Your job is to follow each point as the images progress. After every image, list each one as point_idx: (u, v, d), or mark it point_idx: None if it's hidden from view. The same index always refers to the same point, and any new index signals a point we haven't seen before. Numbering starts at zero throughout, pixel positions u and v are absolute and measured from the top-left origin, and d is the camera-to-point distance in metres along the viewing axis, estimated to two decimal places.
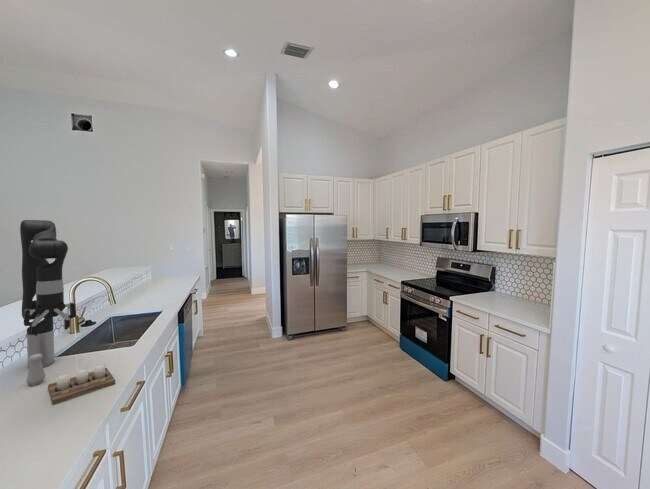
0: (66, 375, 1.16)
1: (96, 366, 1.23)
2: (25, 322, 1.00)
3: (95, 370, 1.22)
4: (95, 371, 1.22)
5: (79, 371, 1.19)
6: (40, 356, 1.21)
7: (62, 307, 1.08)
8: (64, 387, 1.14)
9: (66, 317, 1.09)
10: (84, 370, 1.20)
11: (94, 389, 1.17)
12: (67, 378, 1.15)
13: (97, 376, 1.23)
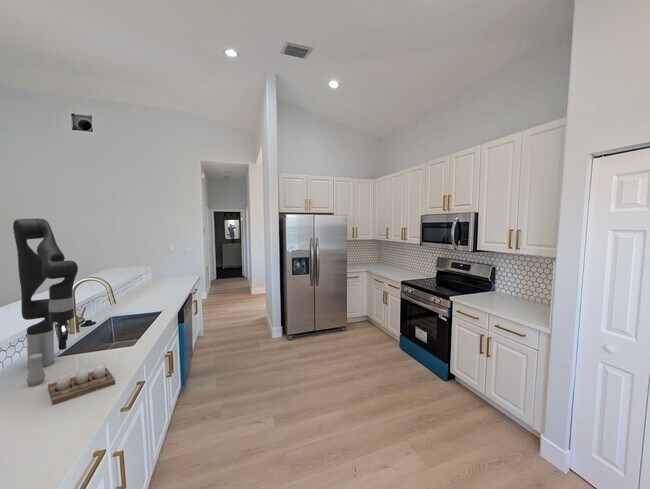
0: (66, 375, 1.16)
1: (96, 366, 1.23)
2: (67, 337, 1.13)
3: (95, 370, 1.22)
4: (95, 371, 1.22)
5: (79, 371, 1.19)
6: (40, 356, 1.21)
7: None
8: (64, 387, 1.14)
9: None
10: (84, 370, 1.20)
11: (94, 389, 1.17)
12: (67, 378, 1.15)
13: (97, 376, 1.23)
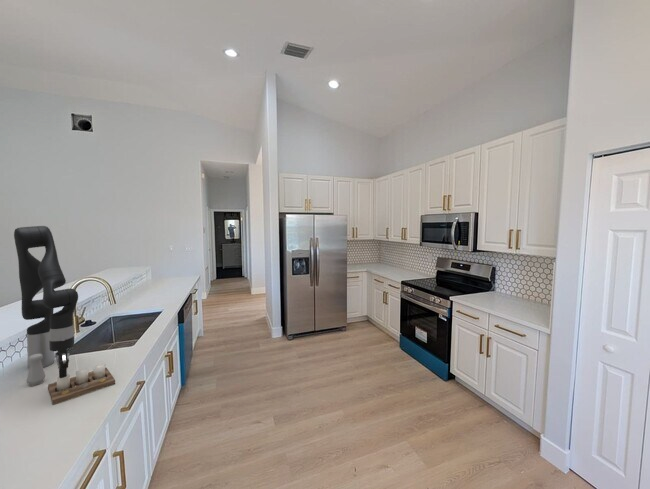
0: (66, 376, 1.16)
1: (96, 366, 1.23)
2: (67, 366, 1.13)
3: (95, 370, 1.22)
4: (95, 371, 1.22)
5: (79, 371, 1.19)
6: (40, 356, 1.21)
7: None
8: (64, 388, 1.14)
9: None
10: (84, 370, 1.20)
11: (94, 389, 1.17)
12: (67, 379, 1.15)
13: (97, 376, 1.23)
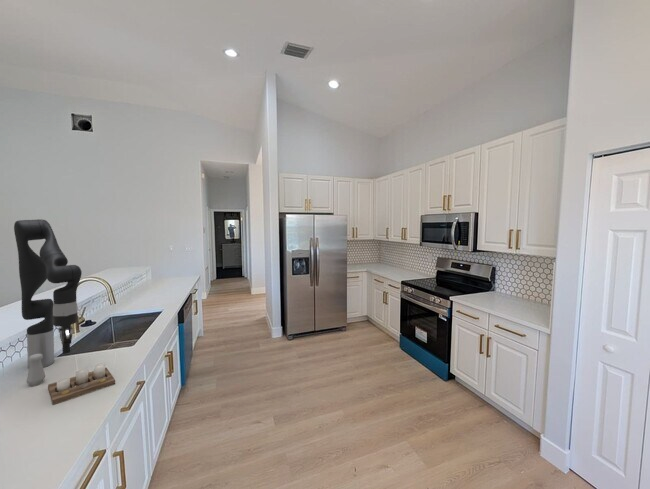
0: (66, 379, 1.16)
1: (96, 366, 1.23)
2: None
3: (95, 370, 1.22)
4: (95, 371, 1.22)
5: (79, 371, 1.19)
6: (40, 356, 1.21)
7: None
8: None
9: None
10: (84, 370, 1.20)
11: (94, 389, 1.17)
12: (67, 382, 1.15)
13: (97, 376, 1.23)
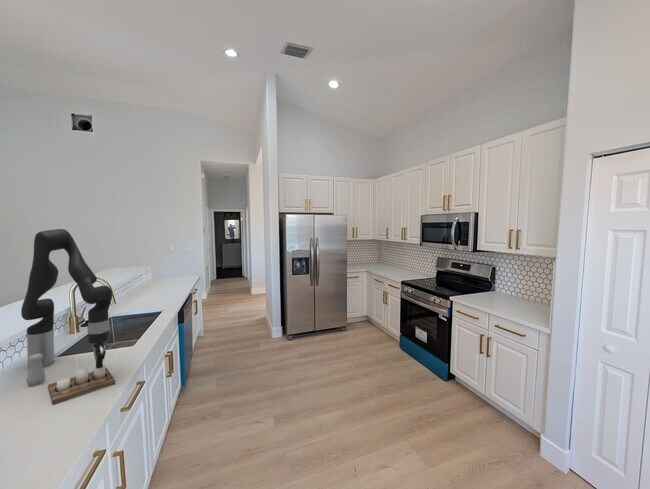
0: (66, 379, 1.16)
1: (96, 368, 1.24)
2: None
3: (95, 371, 1.22)
4: (95, 373, 1.22)
5: (79, 371, 1.19)
6: (40, 356, 1.21)
7: None
8: None
9: None
10: (84, 370, 1.20)
11: (94, 389, 1.17)
12: (67, 382, 1.15)
13: (97, 378, 1.23)
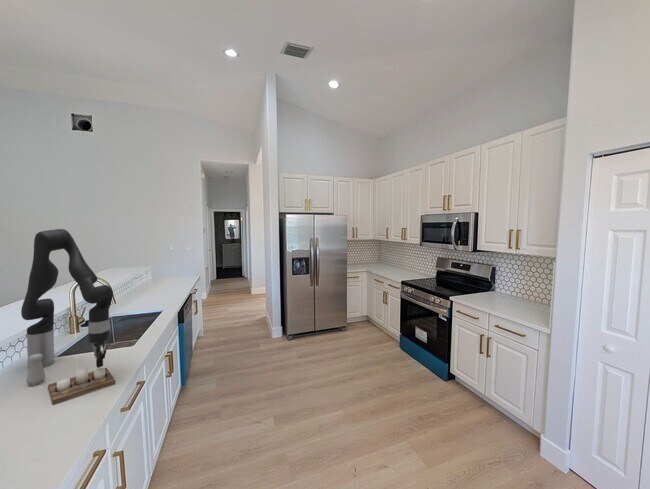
0: (66, 379, 1.16)
1: (96, 370, 1.24)
2: None
3: (96, 374, 1.22)
4: (95, 375, 1.22)
5: (79, 371, 1.19)
6: (40, 356, 1.21)
7: None
8: None
9: None
10: (84, 370, 1.20)
11: (94, 389, 1.17)
12: (67, 382, 1.15)
13: None
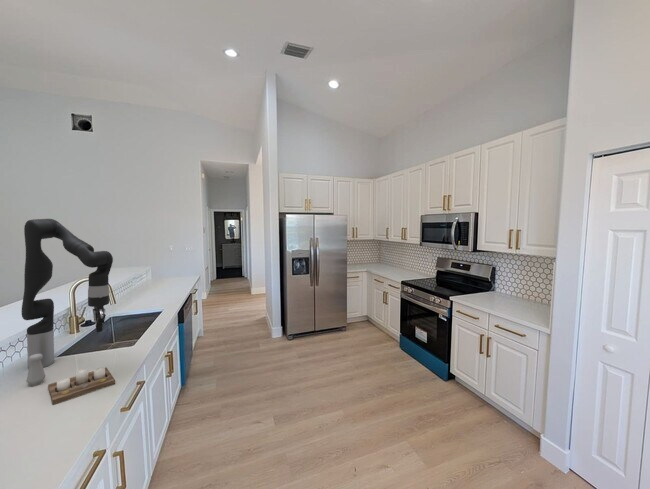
0: (66, 379, 1.16)
1: (96, 370, 1.24)
2: None
3: (96, 374, 1.22)
4: (95, 375, 1.22)
5: (79, 371, 1.19)
6: (40, 356, 1.21)
7: None
8: None
9: None
10: (84, 370, 1.20)
11: (94, 389, 1.17)
12: (67, 382, 1.15)
13: None
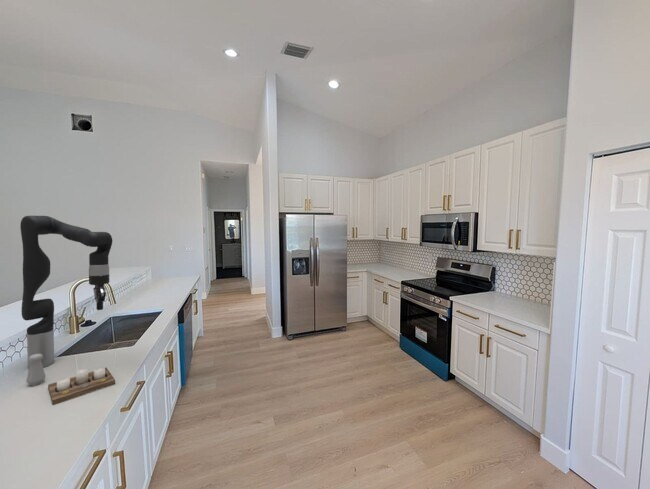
0: (66, 379, 1.16)
1: (96, 370, 1.24)
2: (104, 299, 1.28)
3: (96, 374, 1.22)
4: (95, 375, 1.22)
5: (79, 371, 1.19)
6: (40, 356, 1.21)
7: None
8: None
9: None
10: (84, 370, 1.20)
11: (94, 389, 1.17)
12: (67, 382, 1.15)
13: None
